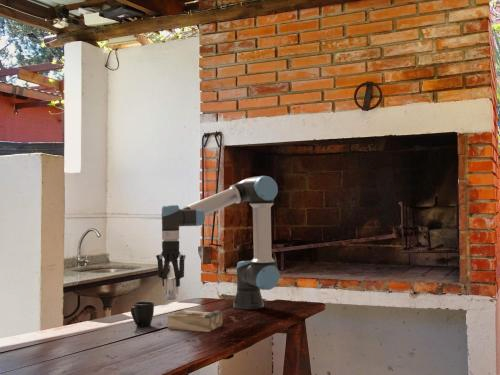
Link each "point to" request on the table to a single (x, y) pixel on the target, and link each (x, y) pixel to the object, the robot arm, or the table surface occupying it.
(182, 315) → the block
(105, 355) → the table surface
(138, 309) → the mug
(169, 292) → the cylinder
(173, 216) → the robot arm
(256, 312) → the table surface
